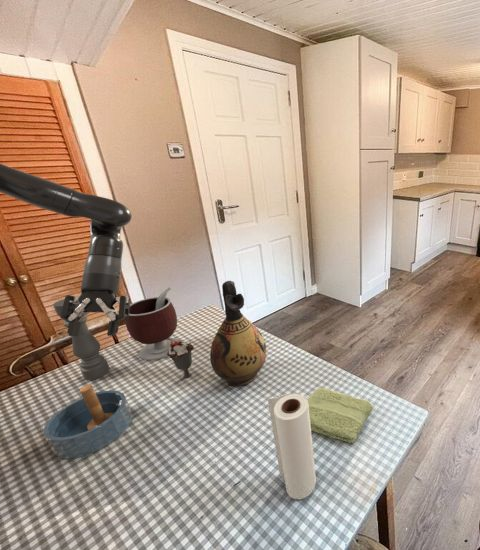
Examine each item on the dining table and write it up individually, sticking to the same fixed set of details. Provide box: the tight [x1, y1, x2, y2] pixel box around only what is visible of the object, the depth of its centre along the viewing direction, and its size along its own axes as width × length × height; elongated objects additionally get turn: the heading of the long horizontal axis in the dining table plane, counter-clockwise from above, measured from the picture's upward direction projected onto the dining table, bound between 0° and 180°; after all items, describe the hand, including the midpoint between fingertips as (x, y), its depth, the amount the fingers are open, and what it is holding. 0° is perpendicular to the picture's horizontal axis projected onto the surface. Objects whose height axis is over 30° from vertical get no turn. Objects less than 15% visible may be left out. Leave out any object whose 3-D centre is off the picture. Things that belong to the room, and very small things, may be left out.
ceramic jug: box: [209, 280, 268, 388], centre depth 88 cm, size 17×15×30 cm
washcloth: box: [306, 387, 374, 444], centre depth 77 cm, size 13×18×3 cm
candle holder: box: [52, 298, 111, 381], centre depth 89 cm, size 6×6×25 cm
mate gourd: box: [123, 287, 181, 361], centre depth 102 cm, size 16×14×20 cm
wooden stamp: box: [79, 384, 113, 430], centre depth 73 cm, size 5×5×12 cm
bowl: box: [42, 389, 133, 460], centre depth 72 cm, size 15×15×6 cm
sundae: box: [167, 337, 195, 380], centre depth 89 cm, size 7×7×15 cm
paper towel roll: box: [267, 393, 317, 500], centre depth 58 cm, size 7×6×21 cm
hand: (92, 335), depth 78 cm, fingers open, 8 cm apart
